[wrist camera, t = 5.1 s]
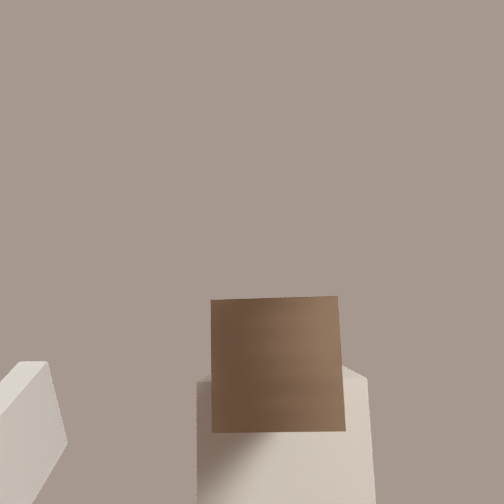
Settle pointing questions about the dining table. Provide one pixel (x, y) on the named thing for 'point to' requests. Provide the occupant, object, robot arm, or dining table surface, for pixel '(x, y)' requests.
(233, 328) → the walnut bar
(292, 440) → the step stand
